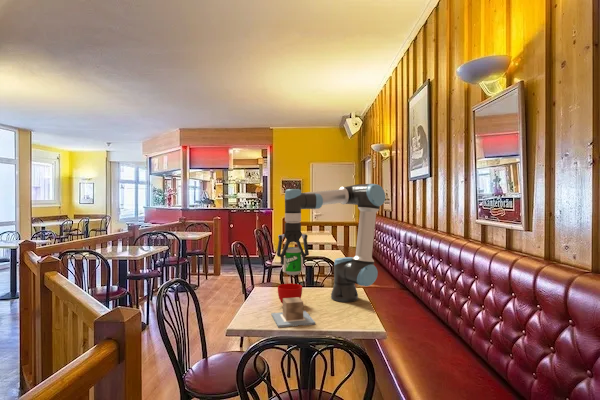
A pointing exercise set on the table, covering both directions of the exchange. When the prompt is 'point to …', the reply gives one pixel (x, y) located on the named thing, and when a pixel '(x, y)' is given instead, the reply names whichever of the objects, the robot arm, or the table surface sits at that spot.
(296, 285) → the ceramic cup
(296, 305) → the walnut block
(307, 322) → the baseplate
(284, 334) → the table surface
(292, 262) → the soda can
